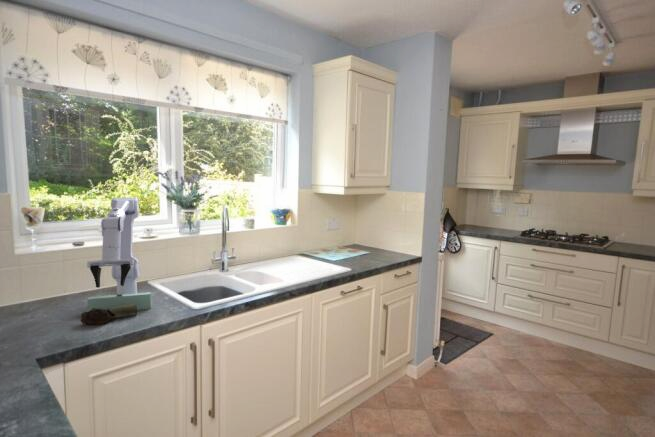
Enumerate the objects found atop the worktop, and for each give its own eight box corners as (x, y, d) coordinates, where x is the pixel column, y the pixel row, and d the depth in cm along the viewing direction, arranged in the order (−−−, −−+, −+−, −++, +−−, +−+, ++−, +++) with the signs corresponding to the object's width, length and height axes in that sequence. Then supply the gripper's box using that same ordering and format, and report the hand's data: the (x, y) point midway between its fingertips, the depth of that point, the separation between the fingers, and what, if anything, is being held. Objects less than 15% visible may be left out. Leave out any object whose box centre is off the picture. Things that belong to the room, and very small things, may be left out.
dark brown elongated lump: (134, 312, 147) (134, 299, 146) (138, 318, 141) (137, 304, 141) (80, 323, 136) (80, 308, 135) (82, 329, 131) (81, 314, 130)
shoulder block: (90, 311, 147) (89, 294, 146) (151, 306, 153) (151, 290, 153) (88, 314, 144) (87, 297, 143) (150, 308, 151) (150, 292, 150)
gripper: (85, 247, 131) (83, 286, 127) (131, 245, 135) (130, 283, 132) (91, 251, 137) (89, 288, 134) (135, 249, 142) (134, 285, 138)
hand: (110, 286), depth 133 cm, fingers open, 7 cm apart
